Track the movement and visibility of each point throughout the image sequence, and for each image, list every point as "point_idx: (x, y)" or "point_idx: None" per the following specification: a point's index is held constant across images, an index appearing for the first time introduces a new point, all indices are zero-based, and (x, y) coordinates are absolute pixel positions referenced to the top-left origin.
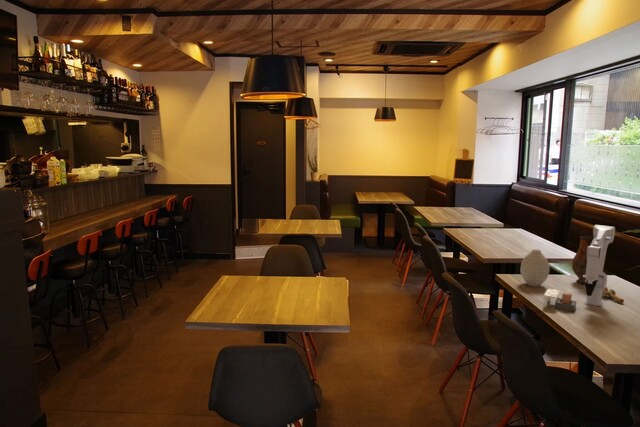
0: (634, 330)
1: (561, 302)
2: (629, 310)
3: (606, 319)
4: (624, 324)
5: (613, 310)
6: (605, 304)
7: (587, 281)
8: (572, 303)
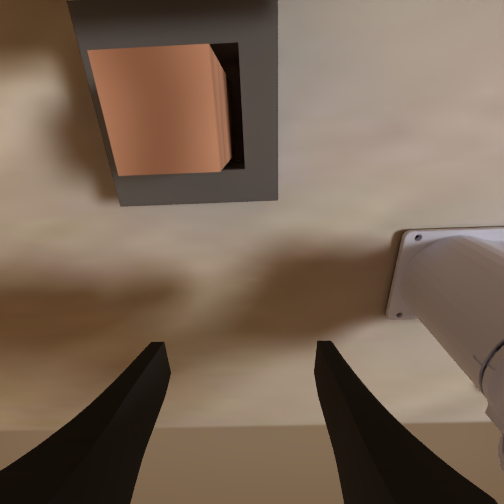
0: None
1: None
2: (392, 410)
3: None
4: None
5: (348, 363)
6: None
7: (375, 470)
8: (173, 181)
